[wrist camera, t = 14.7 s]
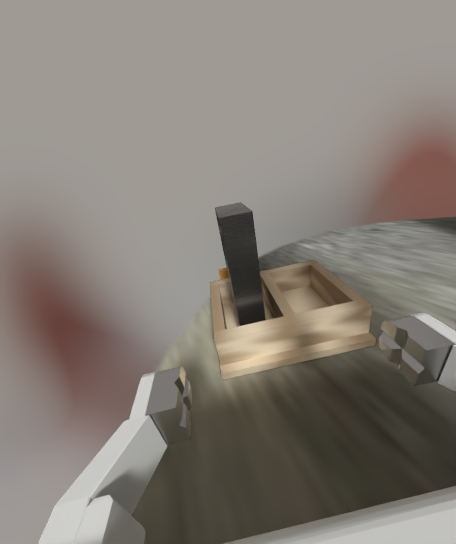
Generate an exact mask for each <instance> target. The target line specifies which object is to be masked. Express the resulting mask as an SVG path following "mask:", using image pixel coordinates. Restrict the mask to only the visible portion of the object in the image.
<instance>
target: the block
mask: <svg viewBox="0 0 456 544" xmlns="http://www.w3.org/2000/svg"><path fill="white" fill-rule="evenodd" d="M215 211H216V216H217V221H218V226H219V231H220V236H221V241H222V246H223V251H224V256H225V260H226V265H227V271H228V276H229V281H230V286H231V291H232V296H233V301H234V306H235V311H236V315H237V319H238V323H239V326H243V325H247V324H252V323H256V322H261V321H265V320H266V318H265V310H264V302H263V294H262V286H261V278H260V270H259V261H258V253H257V245H256V237H255V230H254V221H253V214H252V211H251V210H250V209H248V208H247V207H246V206H245V205H243V204H242V203H235V204H231V205H226V206H221V207H216V208H215Z"/></svg>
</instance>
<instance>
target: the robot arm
mask: <svg viewBox="0 0 456 544" xmlns="http://www.w3.org/2000/svg"><path fill="white" fill-rule="evenodd" d="M381 330H382V331H383V333H382V335H381V336H380V337H379V342H378V344H379V347H380V350H381V352H382V353H383V355H384V356H385V357H386V358H387V359H388V360H389V361H391V362H393V363H395V364H397V365H398V369H399V371H400V372H401V373H402V374H403V375H404V376H405V377H406V378H407V379H408V380H409V381H410V382H411V383H412V384H413V385H414V386H418V385H423V384H428V383H433V382H438V383H439V384H441V385H443V386H444V387H446V388H448V389H450V390H452V391H454V392H456V331H454V330H453V329H451V328H449V327H448V326H446V325H444V324H443V323H441V322H440V321H438V320H436V319H435V318H433V317H432V316H430V315H428V314H426V313H418V314H413V315H409V316H404V317H400V318H396V319H391V320H387V321H384V322H383V323H382V325H381ZM185 374H186V372H185V370H184V368H183V367H178V368H173V369H168V370H163V371H158V372H154V373H149V374H144V375H143V376H142V378H141V380H140V383H139V387H138V390H137V393H136V397H135V400H134V403H133V407H132V410H131V414H130V417H129V420H125V421H124V422H123V423H122V424H121V426H120V427H119V428H118V429H117V430H116V432H115V433H114V434H113V435H112V437H111V438H110V439H109V440H108V441H107V443H106V444H105V445H104V446H103V448H102V449H101V450H100V451H99V452H98V454H97V455H96V456H95V457H94V459H93V460H92V461H91V462H90V463H89V465H88V466H87V467H86V468H85V470H84V471H83V472H82V473H81V475H80V476H79V477H78V478H77V479H76V481H75V482H74V483H73V484H72V486H71V487H70V488H69V489H68V490H67V492H66V493H65V494H64V495H63V497H62V498H61V499H60V500H59V501H58V503H57V504H56V505H55V507H54V509H53V511H52V513H51V516H50V518H49V520H48V523H47V525H46V527H45V530H44V532H43V534H42V536H41V538H40V541H39V543H38V544H144V540H145V533H146V532H145V530H144V528H143V526H142V525H141V524H140V523H139V522H138V521H137V520H135V519H134V518H133V517H132V514H133V513H134V511H135V509H136V507H137V505H138V503H139V501H140V499H141V497H142V495H143V493H144V491H145V489H146V487H147V485H148V483H149V481H150V479H151V477H152V475H153V473H154V471H155V470H156V468H157V466H158V464H159V462H160V460H161V458H162V456H163V454H164V452H165V450H166V448H167V444H171V443H175V442H179V441H182V440H186V439H190V438H191V416H190V414H189V410H190V408H191V407H192V391H191V386H190V383H189V380H187V379H185ZM223 544H456V486H453V487H449V488H445V489H441V490H437V491H433V492H429V493H425V494H421V495H417V496H413V497H409V498H405V499H400V500H396V501H392V502H388V503H384V504H380V505H376V506H372V507H368V508H364V509H360V510H356V511H352V512H348V513H344V514H340V515H336V516H332V517H328V518H324V519H320V520H316V521H312V522H308V523H304V524H300V525H296V526H292V527H288V528H284V529H280V530H276V531H272V532H268V533H263V534H259V535H255V536H251V537H247V538H243V539H239V540H235V541H231V542H227V543H223Z"/></svg>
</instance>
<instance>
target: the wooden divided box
mask: <svg viewBox="0 0 456 544" xmlns="http://www.w3.org/2000/svg"><path fill="white" fill-rule="evenodd" d="M219 274H220V278H221V280H218V281H213V282H210V291H211V304H212V317H213V330H214V341H215V345H216V348H217V352H218V355H219V359H220V369H221V375H222V379H223V380H225V379H229V378H234V377H238V376H242V375H247V374H251V373H256V372H260V371H264V370H269V369H273V368H278V367H282V366H286V365H291V364H295V363H300V362H304V361H309V360H313V359H317V358H322V357H326V356H331V355H335V354H339V353H344V352H348V351H353V350H357V349H361V348H366V347H370V346H375V344H376V338H375V337H374V336H373V335H372V334H371V333H370V332H369V327H370V321H371V315H372V308H373V305H372V304H371V303H370V302H368V301H367V300H366V299H364V298H363V297H362V296H361V295H359V294H358V293H357V292H355V291H354V290H353V289H352V288H350V287H349V286H348V285H346V284H345V283H344V282H342V281H341V280H340V279H339V278H337V277H336V276H335V275H333V274H332V273H331V272H330V271H328V270H327V269H326V268H324V267H323V266H322V265H321V264H319V263H318V262H317V261H315V260H311V261H306V262H302V263H297V264H292V265H288V266H283V267H278V268H274V269H269V270H264V271H260V278H261V286H262V294H263V302H264V310H265V318H266V320H265V321H261V322H256V323H252V324H247V325H243V326H239V323H238V319H237V315H236V311H235V306H234V301H233V296H232V291H231V286H230V281H229V276H228V271H227V268H224V269H219Z"/></svg>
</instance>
